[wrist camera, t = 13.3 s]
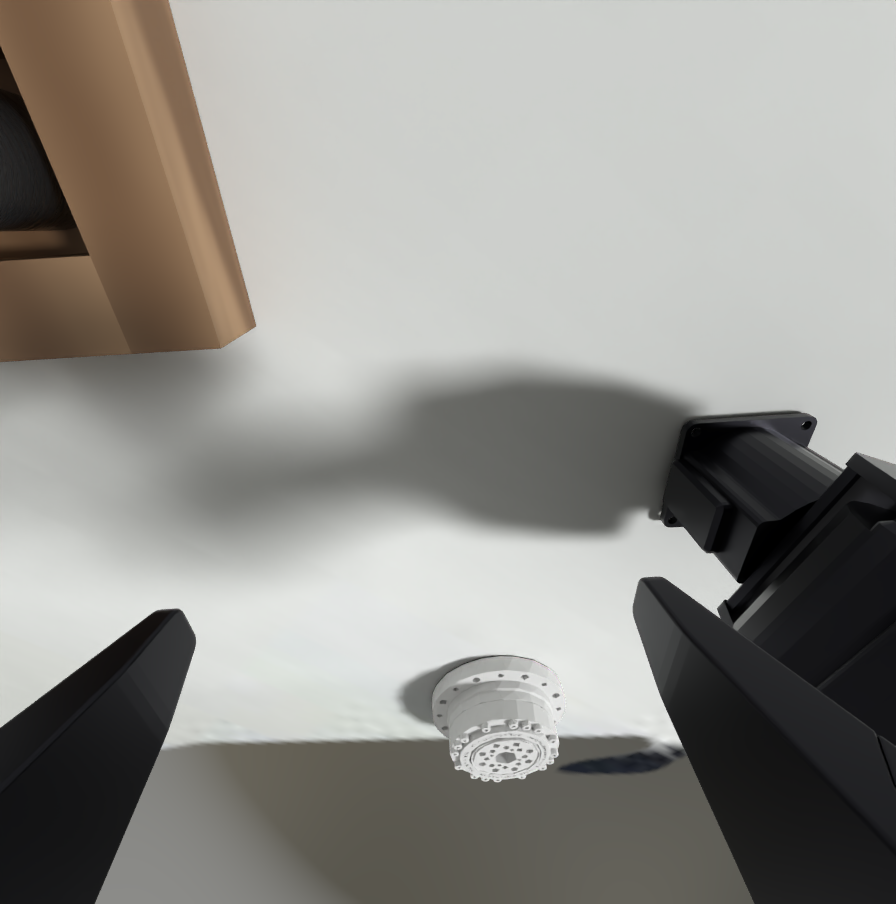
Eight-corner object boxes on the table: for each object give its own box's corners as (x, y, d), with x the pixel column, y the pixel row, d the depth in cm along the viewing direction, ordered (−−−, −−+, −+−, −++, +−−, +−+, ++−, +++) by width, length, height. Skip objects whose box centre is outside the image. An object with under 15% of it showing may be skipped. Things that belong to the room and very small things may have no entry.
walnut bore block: (143, -92, 12) (48, -193, 9) (256, 326, 18) (220, 348, 15) (-271, -69, 12) (-504, -163, 9) (-23, 343, 18) (-116, 368, 15)
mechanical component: (584, 666, 31) (459, 639, 29) (606, 729, 27) (464, 703, 25) (526, 737, 36) (414, 718, 34) (538, 800, 32) (412, 783, 30)
